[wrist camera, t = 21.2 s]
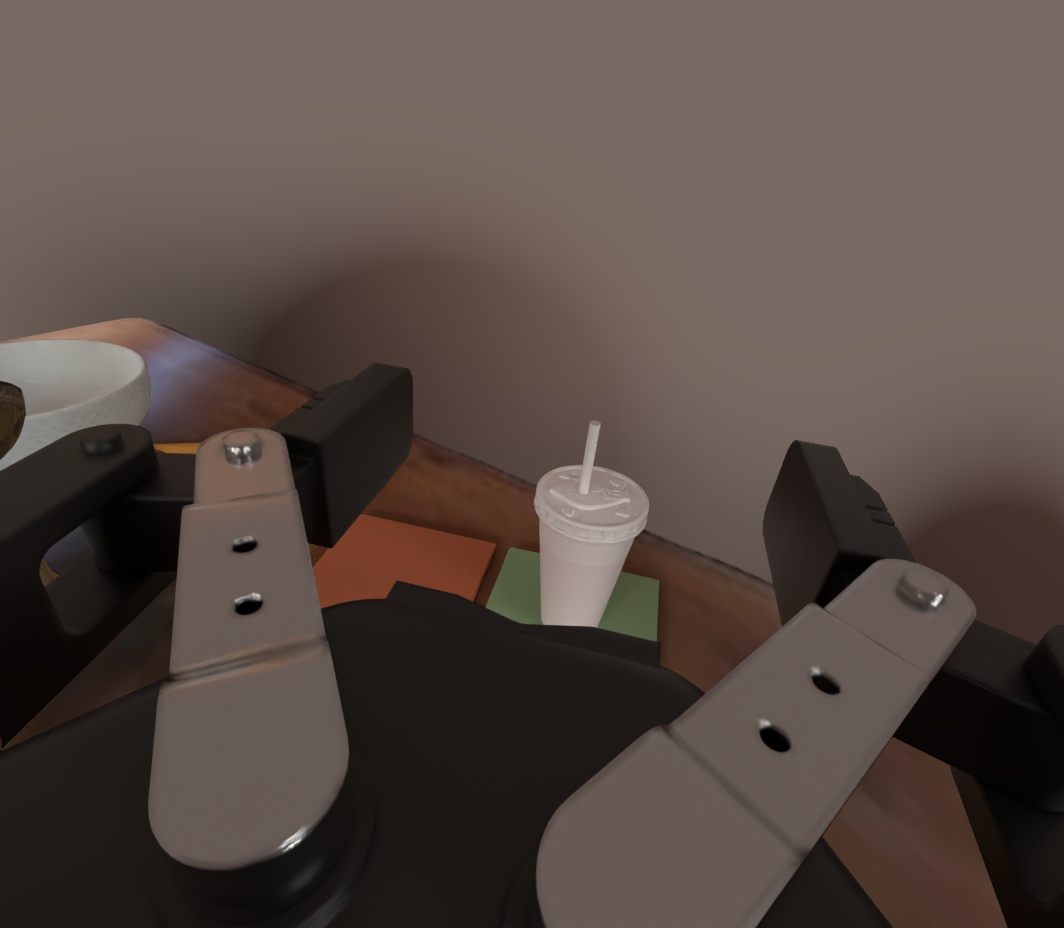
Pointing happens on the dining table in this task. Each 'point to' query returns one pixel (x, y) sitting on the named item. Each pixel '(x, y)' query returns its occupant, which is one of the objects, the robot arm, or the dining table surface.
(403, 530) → the terracotta mat
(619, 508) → the smoothie
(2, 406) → the wooden mug
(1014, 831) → the robot arm
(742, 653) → the dining table surface
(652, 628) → the green mat
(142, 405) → the cereal bowl
